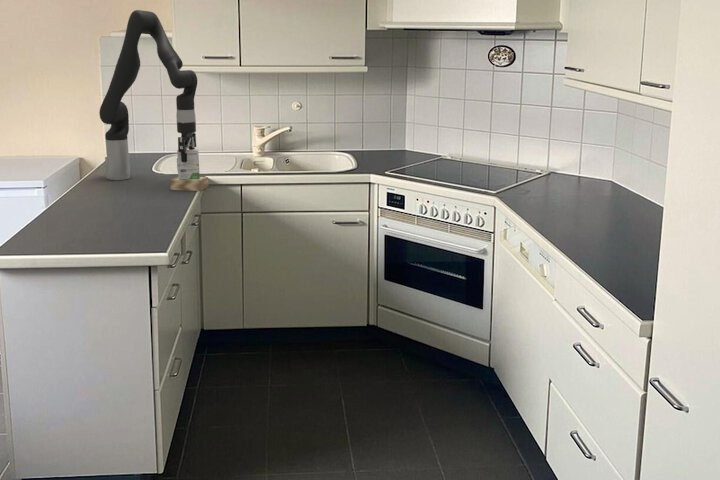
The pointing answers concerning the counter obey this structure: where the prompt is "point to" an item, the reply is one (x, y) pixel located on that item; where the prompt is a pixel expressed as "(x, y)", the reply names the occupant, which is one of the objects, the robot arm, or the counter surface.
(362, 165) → the counter surface
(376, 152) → the counter surface
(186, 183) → the plinth
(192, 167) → the ink box
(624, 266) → the counter surface
